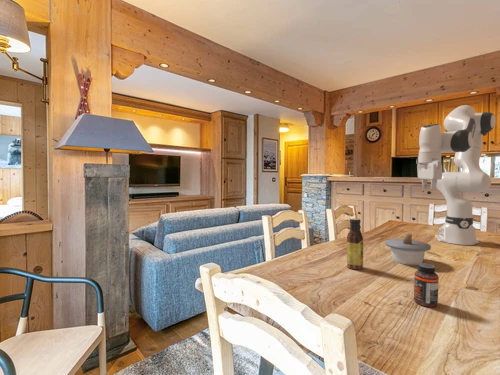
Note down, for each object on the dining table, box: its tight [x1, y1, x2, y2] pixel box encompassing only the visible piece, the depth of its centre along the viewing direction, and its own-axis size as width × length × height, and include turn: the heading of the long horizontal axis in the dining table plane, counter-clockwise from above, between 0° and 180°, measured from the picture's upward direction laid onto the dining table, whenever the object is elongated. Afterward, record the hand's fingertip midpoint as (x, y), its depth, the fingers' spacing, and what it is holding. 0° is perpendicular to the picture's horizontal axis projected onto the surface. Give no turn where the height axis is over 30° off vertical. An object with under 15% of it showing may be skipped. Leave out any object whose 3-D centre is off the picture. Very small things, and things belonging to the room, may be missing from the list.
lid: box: [385, 233, 432, 252], centre depth 118 cm, size 17×17×5 cm
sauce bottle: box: [346, 218, 364, 270], centre depth 110 cm, size 6×6×20 cm
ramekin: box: [390, 247, 426, 266], centre depth 118 cm, size 13×13×7 cm
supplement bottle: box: [413, 262, 440, 308], centre depth 80 cm, size 6×6×11 cm
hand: (428, 189), depth 127 cm, fingers open, 8 cm apart
